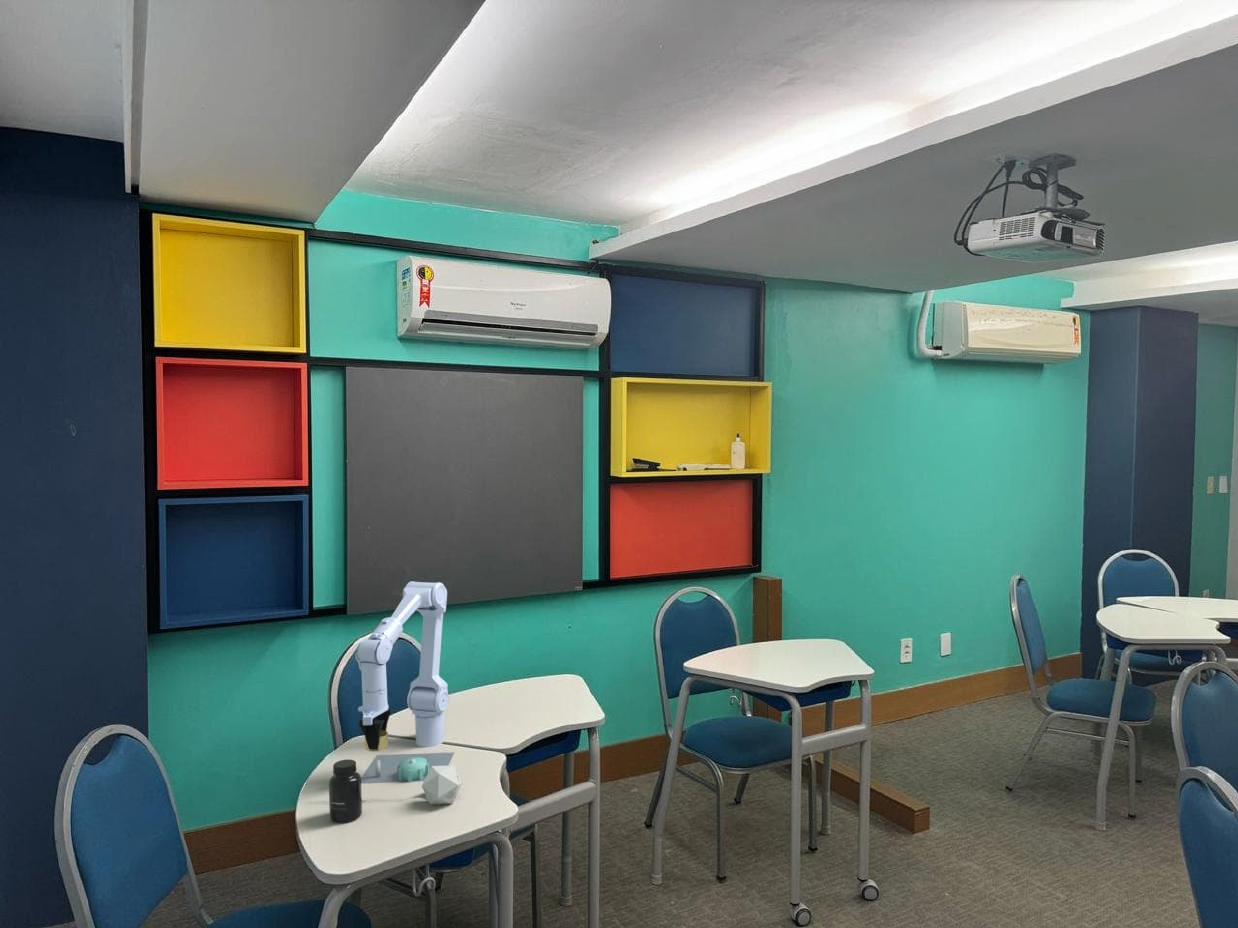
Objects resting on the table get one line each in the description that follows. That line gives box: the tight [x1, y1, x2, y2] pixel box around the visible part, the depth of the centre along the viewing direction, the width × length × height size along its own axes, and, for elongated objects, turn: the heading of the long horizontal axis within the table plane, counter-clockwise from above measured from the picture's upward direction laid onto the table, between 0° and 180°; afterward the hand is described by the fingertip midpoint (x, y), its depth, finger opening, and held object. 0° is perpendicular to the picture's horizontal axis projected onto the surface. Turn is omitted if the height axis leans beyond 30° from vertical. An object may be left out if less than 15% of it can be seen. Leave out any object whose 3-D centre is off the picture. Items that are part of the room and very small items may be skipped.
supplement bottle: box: [328, 759, 363, 824], centre depth 183 cm, size 7×7×12 cm
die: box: [421, 764, 463, 806], centre depth 190 cm, size 8×9×10 cm
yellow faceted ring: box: [364, 730, 389, 752], centre depth 202 cm, size 5×5×3 cm
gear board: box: [361, 751, 455, 784], centre depth 207 cm, size 17×20×5 cm
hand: (376, 744), depth 202 cm, fingers closed on yellow faceted ring, 5 cm apart
